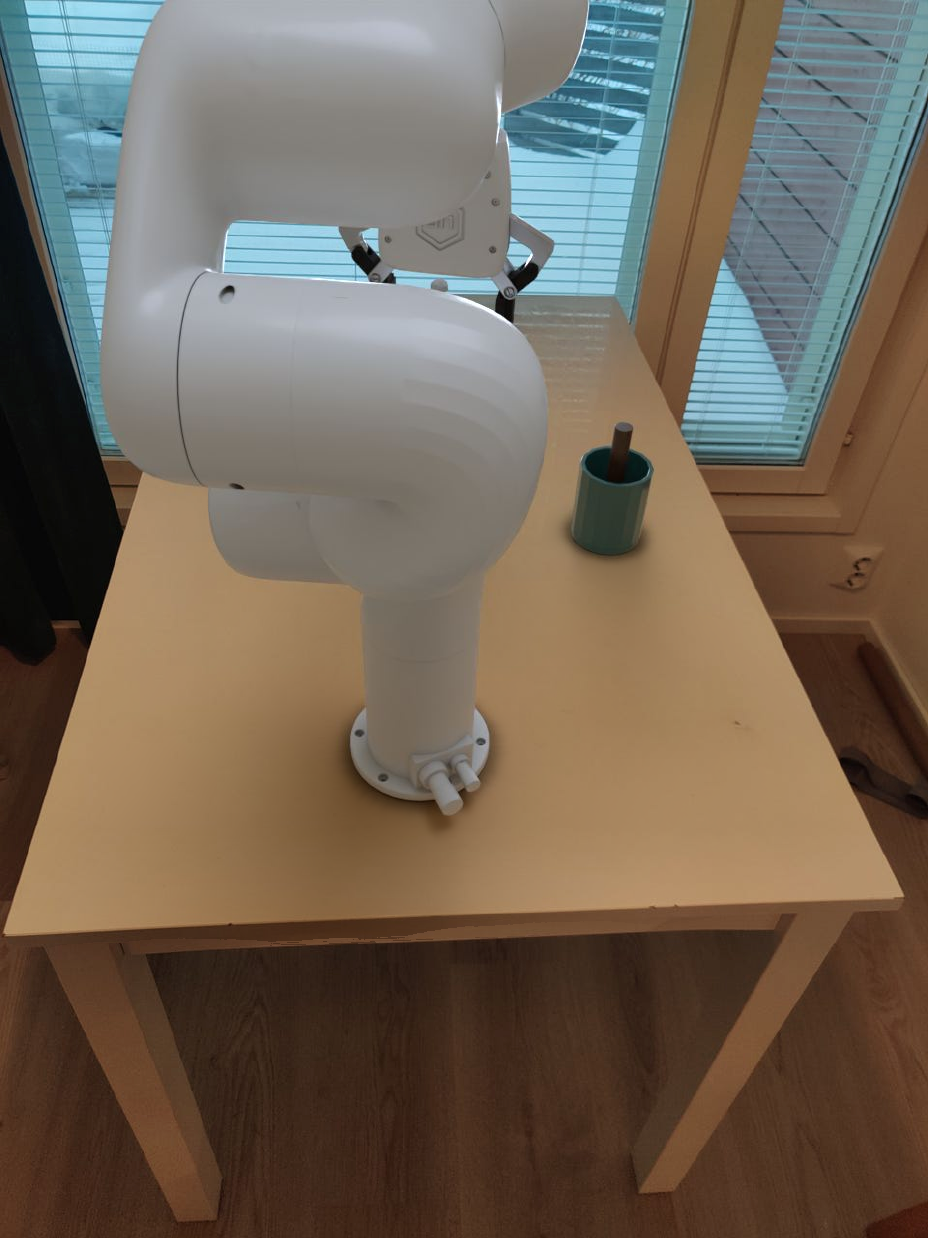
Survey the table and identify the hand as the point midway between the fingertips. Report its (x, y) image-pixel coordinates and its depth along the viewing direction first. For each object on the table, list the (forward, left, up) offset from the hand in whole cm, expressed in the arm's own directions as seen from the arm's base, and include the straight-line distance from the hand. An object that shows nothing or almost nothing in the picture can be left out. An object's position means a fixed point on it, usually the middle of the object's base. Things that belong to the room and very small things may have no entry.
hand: (443, 331), depth 80 cm
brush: (+2, -23, -29) cm, 37 cm away
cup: (+2, -23, -30) cm, 38 cm away
